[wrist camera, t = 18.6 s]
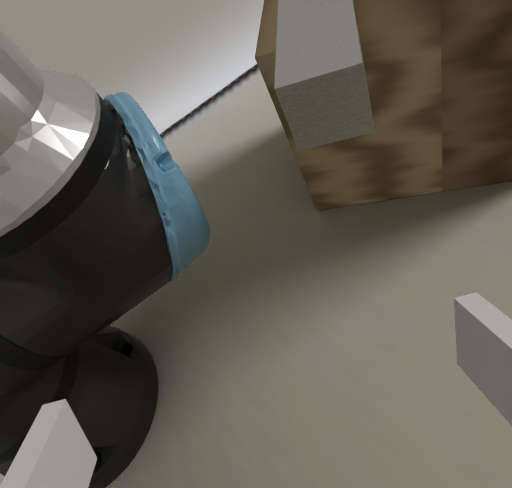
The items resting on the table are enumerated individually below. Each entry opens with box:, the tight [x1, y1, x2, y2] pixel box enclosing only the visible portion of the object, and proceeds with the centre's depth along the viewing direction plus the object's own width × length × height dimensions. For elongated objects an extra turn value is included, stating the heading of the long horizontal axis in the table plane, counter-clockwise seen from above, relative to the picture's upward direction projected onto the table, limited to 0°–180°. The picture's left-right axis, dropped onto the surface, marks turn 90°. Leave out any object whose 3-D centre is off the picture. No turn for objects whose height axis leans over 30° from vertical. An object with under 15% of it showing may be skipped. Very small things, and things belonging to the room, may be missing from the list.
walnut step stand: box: [255, 0, 512, 210], centre depth 32 cm, size 20×16×28 cm
